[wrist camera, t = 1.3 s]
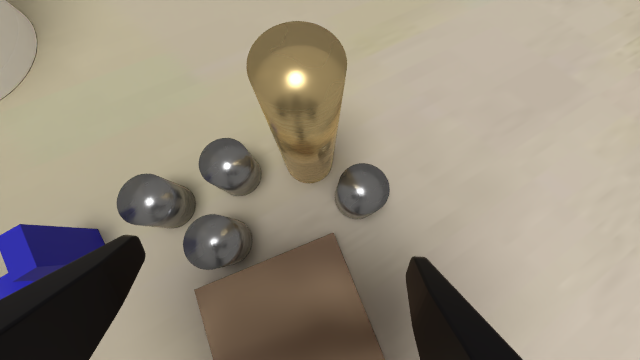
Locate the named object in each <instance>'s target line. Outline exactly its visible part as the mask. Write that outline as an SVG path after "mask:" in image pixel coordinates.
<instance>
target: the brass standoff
mask: <svg viewBox="0 0 640 360" xmlns="http://www.w3.org/2000/svg"><path fill="white" fill-rule="evenodd" d="M346 70H347V58H346V54H345V51H344V48H343V46H342V45H341V43H340V41H339V40H338V39H337V38H336V37H335V36H334V35H333V34H332V33H331V32H330V31H328V30H327V29H325V28H323V27H321V26H319V25H317V24H313V23H309V22H302V21H293V22H286V23H282V24H279V25H276V26H274V27H272V28H270V29H268V30H267V31H265V32H264V33H263V34H262V35H261V36H259V37H258V39H257V40H256V41H255V42H254V44H253V45H252V47H251V49H250V51H249V54H248V58H247V74H248V77H249V80H250V83H251V85H252V87H253V90H254V92H255V94H256V97H257V99H258V101H259V104H260V106H261V108H262V111H263V113H264V115H265V117H266V120H267V122H268V124H269V127H270V129H271V131H272V134H273V136H274V138H275V141H276V143H277V145H278V147H279V150H280V152H281V154H282V157H283V159H284V161H285V164H286V166H287V168H288V170H289V172H290V174H291V175H292V176H293V177H294V178H295V179H297V180H298V181H300V182H304V183H315V182H318V181H320V180H322V179H323V178H324V177H326V176H327V174H328V173H329V171H330V169H331V166H332V160H333V154H334V148H335V141H336V135H337V128H338V122H339V115H340V109H341V103H342V96H343V90H344V83H345V77H346Z"/></svg>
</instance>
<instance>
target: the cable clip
mask: <svg viewBox="0 0 640 360" xmlns="http://www.w3.org/2000/svg"><path fill="white" fill-rule="evenodd" d="M103 245H105V243H104V241H103V239H102V237H101V235H100V233H99V231H98V229H88V228H72V227H56V226H40V225H24V224H19V225H18V226H16V227H14V228H12V229H11V230H9V231H7V232H5V233H4V234H2V235H0V251H1V254H2V257H3V259H4V262H5V265H6V267H7V270H8V274H6V275H4V276H2V277H1V278H0V299H2V298H4V297H6V296H8V295H10V294H12V293H14V292H16V291H18V290H19V289H21V288H23V287H25V286H27V285H29V284H31V283H33V282H35V281H37V280H38V279H40V278H42V277H44V276H46V275H48V274H50V273H52V272H54V271H56V270H58V269H59V268H61V267H63V266H65V265H67V264H69V263H71V262H73V261H75V260H77V259H78V258H80V257H82V256H84V255H86V254H88V253H90V252H92V251H94V250H96V249H98V248H99V247H101V246H103Z"/></svg>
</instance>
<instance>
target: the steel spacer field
mask: <svg viewBox="0 0 640 360" xmlns="http://www.w3.org/2000/svg"><path fill="white" fill-rule="evenodd" d="M199 169H200V172H201V174H202V176H203V177H204V179H205V180H206V181H208V182H209V183H211V184H213V185H215V186H216V187H218V188H220V189H222V190H224V191H226V192H227V193H229V194H231V195H235V196H243V195H247V194H249V193H251V192H252V191H253V190H255V189H256V187H257V186H258V184H259V182H260V179H261V169H260V166H259V165H258V163H257V162H256V161H255V159H254V158H253V157H252V155H251V154H250V153H249V152H248V150H247V149H246V148H245V146H244V145H243V144H242V143H240V142H239V141H237V140H235V139H231V138H221V139H217V140H215V141H213V142H211V143H210V144H208V145H207V146H206V147H205V149H204V150H203V151H202V153H201V155H200V159H199ZM388 196H389V183H388V180H387V178H386V176H385V174H384V173H383V172H382V171H381V170H380V169H379V168H377V167H375V166H373V165H370V164H365V163H361V164H355V165H353V166H351V167H349V168H348V169H346V170H345V171H344V172H343V174H342V175H341V177H340V180H339V183H338V186H337V189H336V192H335V202H336V205H337V207H338V209H339V210H340V212H341V213H343V214H344V215H345V216H347V217H349V218H353V219H361V218H364V217H366V216H368V215H370V214H372V213H374V212H376V211H377V210H379V209H380V208H381V207H383V205H384V204H385V203H386V201H387V199H388ZM195 206H196V203H195V198H194V195H193V194H192V192H191V191H190V190H189V189H187V188H185V187H183V186H181V185H178V184H176V183H173V182H171V181H169V180H166V179H164V178H161V177H159V176H156V175H153V174H141V175H137V176H135V177H133V178H131V179H130V180H128V181H127V182H126V183H125V184H124V185H123V187H122V188H121V190H120V192H119V194H118V198H117V209H118V212H119V214H120V216H121V217H122V218H123V219H124V220H125V221H126V222H128V223H130V224H134V225H142V226H152V227H163V228H177V227H180V226H182V225H184V224H185V223H187V222H188V221H189V220H190V218H191V217H192V215H193V213H194V211H195ZM251 246H252V235H251V232H250V230H249V228H248V227H247V226H246V225H245V224H244V223H243V222H241V221H239V220H235V219H232V218H228V217H224V216H221V215H215V214H210V215H205V216H202V217H200V218H198V219H197V220H195V221H194V222H193V223H192V224H191V225H190V226H189V228H188V229H187V231H186V233H185V236H184V241H183V248H184V253H185V255H186V257H187V259H188V260H189V262H190V263H191V264H193V265H194V266H196V267H198V268H200V269H206V270H210V269H216V268H220V267H224V266H228V265H232V264H235V263H238V262H240V261H241V260H243V259H244V258H245V257H246V256H247V254H248V253H249V251H250V249H251Z"/></svg>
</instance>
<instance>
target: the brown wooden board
mask: <svg viewBox="0 0 640 360" xmlns="http://www.w3.org/2000/svg"><path fill="white" fill-rule="evenodd" d="M194 291H195V294H196V298H197V302H198V305H199V309H200V313H201V316H202V320H203V323H204V327H205V331H206V334H207V338H208V342H209V345H210V349H211V353H212V356H213V360H385V359H384V356H383V354H382V351H381V349H380V346H379V344H378V341H377V339H376V336H375V334H374V331H373V329H372V327H371V324H370V322H369V319H368V317H367V314H366V312H365V309H364V307H363V304H362V302H361V299H360V297H359V295H358V292H357V290H356V287H355V285H354V282H353V280H352V277H351V275H350V272H349V270H348V267H347V265H346V262H345V260H344V258H343V255H342V253H341V250H340V248H339V245H338V243H337V240H336V238H335V235H334V233H331V234H329V235H326V236H324V237H321V238H319V239H317V240H314V241H312V242H309V243H307V244H304V245H302V246H300V247H297V248H295V249H292V250H290V251H287V252H285V253H283V254H280V255H278V256H275V257H273V258H270V259H268V260H266V261H263V262H261V263H258V264H256V265H253V266H251V267H249V268H246V269H244V270H241V271H239V272H236V273H234V274H232V275H229V276H227V277H224V278H222V279H219V280H217V281H215V282H212V283H210V284H207V285H205V286H202V287H200V288H198V289H195V290H194Z"/></svg>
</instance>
